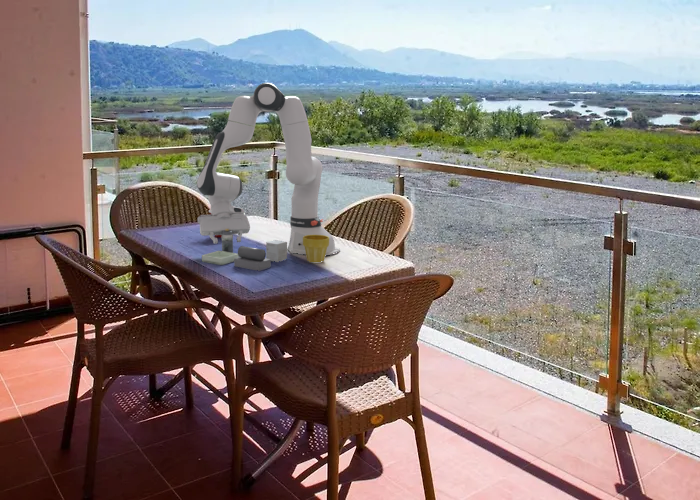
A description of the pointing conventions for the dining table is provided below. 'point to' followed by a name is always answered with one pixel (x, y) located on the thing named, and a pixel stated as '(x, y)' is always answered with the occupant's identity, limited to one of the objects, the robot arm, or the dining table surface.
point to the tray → (219, 257)
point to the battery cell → (227, 240)
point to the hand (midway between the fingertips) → (227, 242)
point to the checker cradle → (252, 258)
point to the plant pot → (315, 247)
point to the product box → (276, 250)
